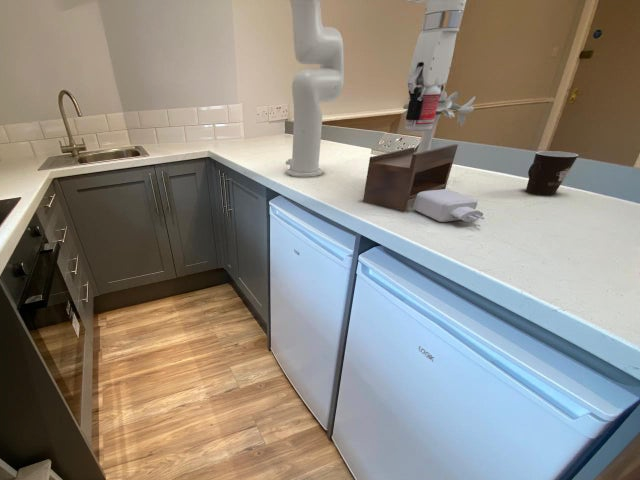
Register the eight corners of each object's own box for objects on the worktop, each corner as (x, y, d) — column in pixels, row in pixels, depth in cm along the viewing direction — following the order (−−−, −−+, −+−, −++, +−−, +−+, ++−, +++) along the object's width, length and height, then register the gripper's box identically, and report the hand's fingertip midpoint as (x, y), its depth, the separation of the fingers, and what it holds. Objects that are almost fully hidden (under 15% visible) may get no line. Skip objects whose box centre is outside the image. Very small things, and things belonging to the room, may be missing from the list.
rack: (362, 201, 92) (371, 149, 85) (403, 188, 102) (413, 140, 95) (403, 211, 84) (416, 154, 77) (443, 195, 94) (458, 144, 87)
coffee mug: (546, 188, 97) (563, 150, 91) (567, 196, 90) (587, 156, 84) (502, 188, 98) (516, 151, 93) (520, 197, 91) (536, 157, 85)
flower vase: (457, 185, 102) (487, 88, 89) (396, 187, 103) (417, 91, 89) (436, 176, 113) (460, 88, 100) (381, 177, 114) (397, 90, 100)
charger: (457, 232, 72) (412, 211, 84) (494, 227, 73) (444, 207, 86) (464, 210, 69) (417, 191, 82) (502, 205, 71) (450, 188, 83)
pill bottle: (435, 129, 84) (448, 75, 78) (425, 132, 80) (438, 76, 75) (410, 127, 88) (421, 77, 82) (399, 130, 84) (410, 77, 78)
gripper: (443, 29, 80) (423, 115, 90) (402, 25, 72) (385, 121, 81) (477, 24, 75) (452, 116, 85) (438, 19, 66) (415, 122, 76)
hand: (420, 118), depth 83 cm, fingers closed on pill bottle, 6 cm apart
